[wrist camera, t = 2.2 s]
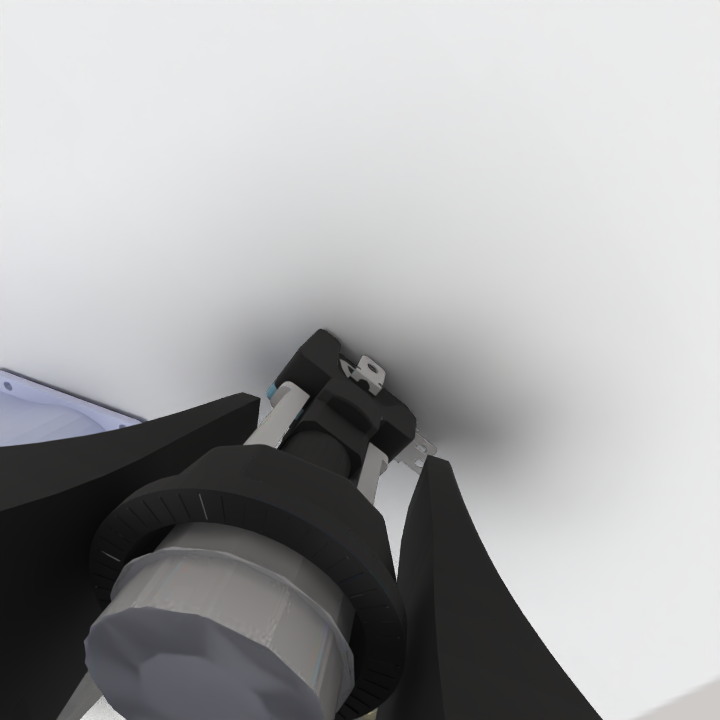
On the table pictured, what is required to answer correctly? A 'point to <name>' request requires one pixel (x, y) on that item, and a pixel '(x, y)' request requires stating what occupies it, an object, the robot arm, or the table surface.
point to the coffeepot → (81, 699)
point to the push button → (262, 563)
